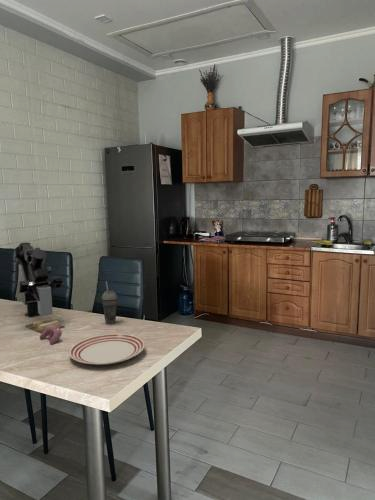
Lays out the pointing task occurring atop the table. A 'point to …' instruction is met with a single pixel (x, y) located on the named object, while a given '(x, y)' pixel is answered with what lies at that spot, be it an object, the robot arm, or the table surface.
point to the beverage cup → (109, 306)
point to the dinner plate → (107, 349)
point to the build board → (44, 325)
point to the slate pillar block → (44, 300)
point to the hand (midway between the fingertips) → (45, 299)
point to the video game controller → (51, 334)
